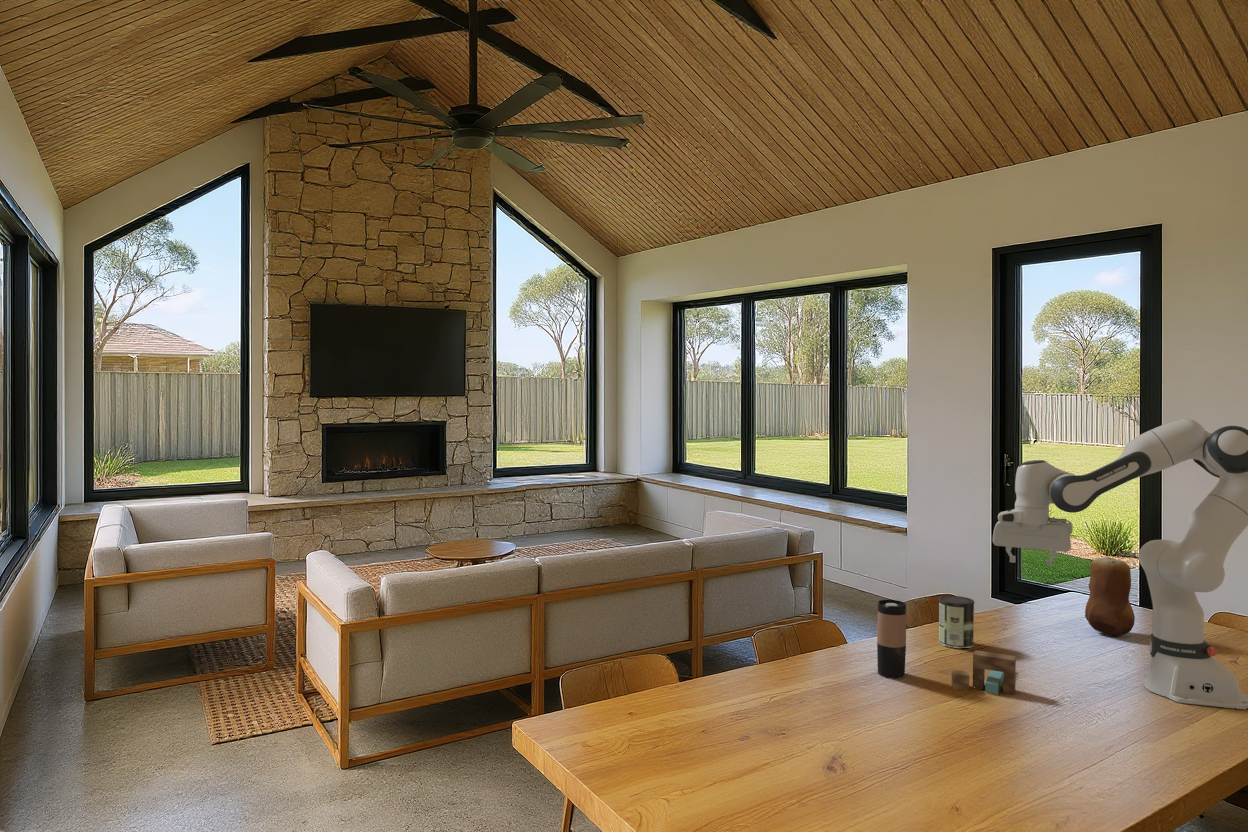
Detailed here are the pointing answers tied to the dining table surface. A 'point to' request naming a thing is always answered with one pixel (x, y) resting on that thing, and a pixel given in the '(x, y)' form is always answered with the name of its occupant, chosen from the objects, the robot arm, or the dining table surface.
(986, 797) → the dining table surface
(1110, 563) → the butternut squash
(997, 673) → the teal square bar
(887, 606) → the travel mug
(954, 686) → the bead cube
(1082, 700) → the dining table surface
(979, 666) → the wooden u-shaped block
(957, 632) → the coffee can
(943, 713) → the dining table surface
